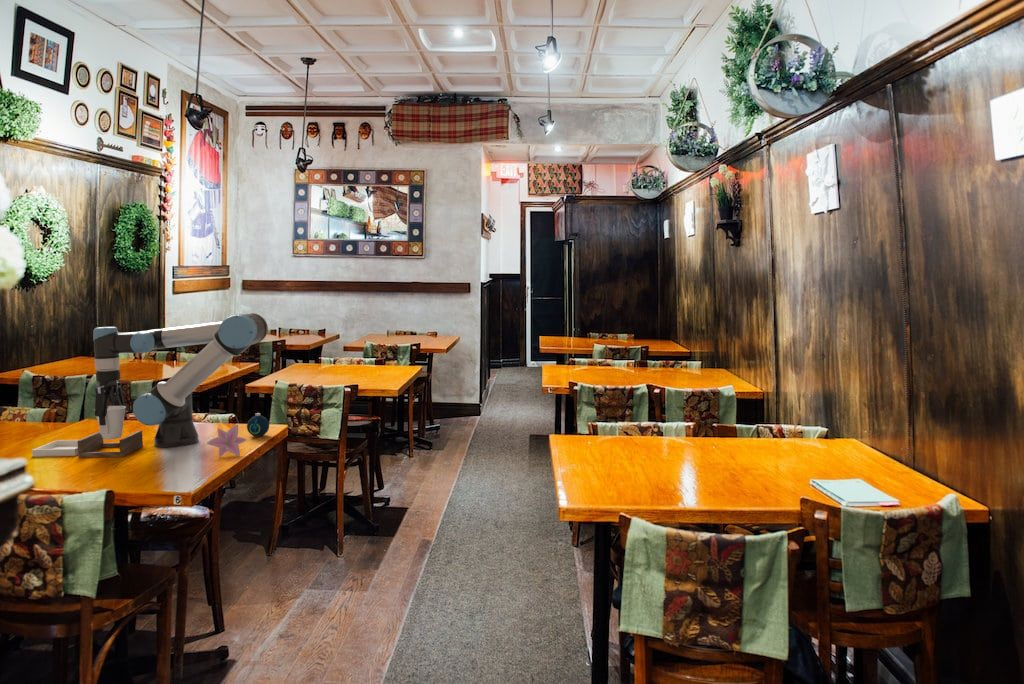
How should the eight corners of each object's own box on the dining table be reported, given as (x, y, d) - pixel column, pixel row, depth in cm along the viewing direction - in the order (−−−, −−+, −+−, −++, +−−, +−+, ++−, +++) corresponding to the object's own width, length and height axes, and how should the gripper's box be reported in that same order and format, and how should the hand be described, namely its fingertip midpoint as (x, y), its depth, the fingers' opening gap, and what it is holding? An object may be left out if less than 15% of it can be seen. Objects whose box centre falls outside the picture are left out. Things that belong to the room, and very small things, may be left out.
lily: (202, 458, 233) (204, 438, 228) (219, 439, 243) (221, 419, 238) (234, 469, 233) (237, 449, 228) (250, 449, 243) (253, 429, 239)
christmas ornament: (242, 437, 260) (241, 412, 259) (257, 433, 268) (256, 409, 267) (259, 439, 257) (258, 414, 257) (274, 434, 265) (273, 410, 264)
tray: (96, 445, 246) (96, 439, 245) (75, 455, 232) (74, 449, 231) (56, 446, 244) (56, 440, 244) (32, 456, 230) (32, 449, 230)
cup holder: (142, 446, 246) (142, 430, 245) (123, 456, 231) (122, 439, 230) (100, 446, 244) (100, 431, 244) (78, 457, 229) (77, 440, 229)
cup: (113, 441, 231) (111, 411, 230) (89, 440, 233) (87, 410, 232) (134, 435, 241) (132, 405, 240) (111, 434, 243) (109, 405, 242)
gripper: (112, 366, 245) (116, 424, 247) (79, 374, 224) (84, 438, 226) (133, 365, 246) (137, 424, 248) (102, 373, 224) (106, 437, 226)
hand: (111, 430), depth 237 cm, fingers closed on cup, 9 cm apart
